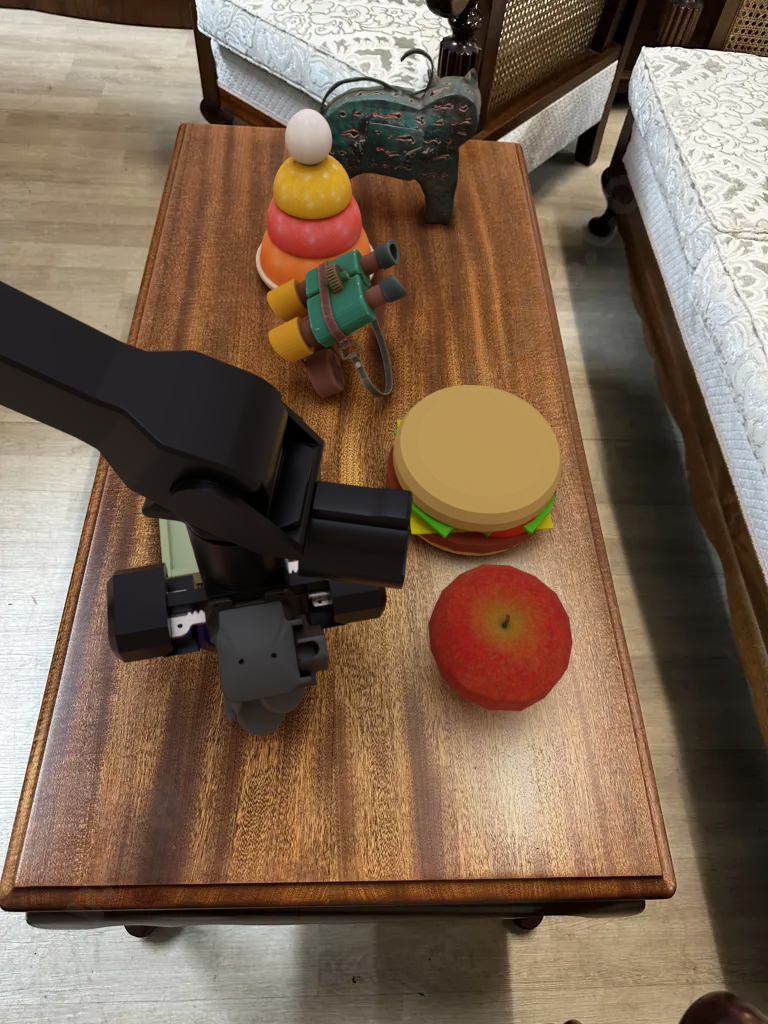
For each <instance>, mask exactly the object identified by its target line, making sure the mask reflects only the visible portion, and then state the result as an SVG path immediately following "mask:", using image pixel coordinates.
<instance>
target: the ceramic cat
mask: <svg viewBox="0 0 768 1024" xmlns="http://www.w3.org/2000/svg"><path fill="white" fill-rule="evenodd" d="M412 55H421V56H424V57H425V58H426V59H427V60H428V61H429V63H430V66H431V67H430V68H427V78H428V80H427V84H426V87H424V88H422V89H420V90H419V89H418V90H415V91H414V90H411V89H408V88H406V87H403V86H400V85H397V84H396V85H395V84H389V83H387V82H385V81H383V80H381V79H378V78H376V77H373V76H354V77H348V78H344V79H340V80H338V81H336V82H334V83H333V84H332V85H331V86H330V87H329V88H328V89H327V91H326V92H325V94H324V96H323V98H322V100H321V103H320V106H319V112H318V113H320V114H321V115H322V116H323V117H324V118H325V120H326V121H327V123H328V125H329V127H330V130H331V134H332V146H331V150H330V152H329V154H328V155H330V156H332V157H333V158H334V159H336V160H337V161H338V162H339V163H340V164H341V165H342V167H343V168H344V169H345V171H346V173H347V175H348V177H349V180H350V181H351V179H353V178H355V177H357V176H359V175H363V174H372V175H373V174H374V175H378V176H384V177H389V178H392V179H397V180H402V181H406V182H412V181H416V182H417V183H418V185H419V186H420V188H421V191H422V194H423V196H424V204H425V207H424V208H425V209H424V217H425V221H424V223H425V224H444V225H449V224H450V223H451V217H452V213H453V210H454V206H455V205H454V203H455V196H456V190H457V187H458V181H459V166H460V147H462V146H463V145H464V144H466V143H467V142H469V140H471V139H472V138H473V136H474V135H475V134H476V132H477V130H478V127H479V124H480V115H481V108H482V94H481V91H480V88H479V81H478V72H477V71H476V70H475V68H474V67H473V68H471V69H469V71H468V72H467V74H465V76H458V75H451V76H449V75H448V76H443V77H440V76H438V74H436V72H435V71H434V69H435V68H434V67H435V65H434V62H433V58H432V56H431V55H430V54H429V53H428V52H426V50H424V49H422V48H420V47H419V48H418V47H417V48H416V47H415V48H414V47H413V48H410V49H407V50H406V51H405V52H404V53H403V54H402V55H401V57H400V59H399V61H400V62H401V63H403V61H404V60H406V59H407V58H408V57H410V56H412ZM357 82H373V83H376V84H379V85H375V86H365V87H364V86H361V87H359V86H358V87H351V88H349V89H347V90H346V91H344V92H342V93H340V94H338V95H335V96H334V97H333V98H332V99H331V100H330V101H329V102H328V103H327V104H326V105H325V103H326V101H327V99H328V97H329V96H330V95H331V94H332V93H333V92H334V91H335V90H336V89H337V88H339V87H341V86H343V85H345V84H349V83H357Z"/></svg>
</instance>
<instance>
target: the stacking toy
mask: <svg viewBox="0 0 768 1024" xmlns="http://www.w3.org/2000/svg"><path fill="white" fill-rule="evenodd" d="M284 137H285V138H284V142H285V147H286V149H287V151H288V153H289V155H290V156H289V157H288V158H286V160H284V161H283V162H282V164H281V165H280V167H279V168H278V170H277V171H276V174H275V177H274V181H273V186H272V198H271V200H270V203H269V206H268V209H267V213H266V229H265V231H264V234H263V237H262V240H261V243H260V245H259V246H258V248H257V251H256V254H255V265H256V270H257V273H258V275H259V277H260V279H261V280H262V282H263V283H264V284H265V285H266V286H267V288H269V290H270V291H271V290H273V289H275V288H277V287H279V286H281V285H283V284H285V283H287V282H289V281H291V280H293V279H296V280H298V281H299V282H302V281H304V280H306V272H308V271H310V270H312V269H314V268H316V267H318V265H320V264H322V263H324V262H326V261H331V260H333V259H335V258H337V257H339V256H341V255H344V254H346V253H348V252H350V251H352V250H354V249H357V250H359V251H360V253H361V254H362V256H364V255H366V254H368V253H370V252H372V251H374V249H373V246H372V244H370V241H369V238H368V235H367V233H366V231H365V229H364V227H363V219H362V213H361V210H360V207H359V204H358V202H357V200H356V198H355V196H354V195H353V189H352V184H351V179H350V180H349V177H348V175H347V173H346V171H345V169H344V168H343V167H342V165H341V164H340V163H339V162H338V161H337V160H336V159H334V158H333V157H332V156H330V155H328V154H329V152H330V150H331V146H332V134H331V130H330V127H329V125H328V123H327V121H326V120H325V118H324V117H323V116H322V115H321V114H320V113H319V112H318V111H317V110H315V109H312V108H304V109H300V110H298V111H297V112H296V113H294V115H292V116H291V118H290V120H289V121H288V123H287V125H286V129H285V133H284ZM374 275H375V273H373V274H371V275H370V281H371V282H372V279H373V277H374Z"/></svg>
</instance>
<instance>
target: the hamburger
mask: <svg viewBox="0 0 768 1024" xmlns="http://www.w3.org/2000/svg"><path fill="white" fill-rule="evenodd" d="M396 423H397V424H396V425H397V428H396V429H395V431H394V433H393V435H394V442H393V444H392V446H391V448H390V451H389V452H388V458H387V469H386V479H385V484H386V488H394V489H401V490H409V491H411V492H412V493H413V496H412V497H413V502H412V511H411V521H410V533H411V535H416V536H418V538H420V539H422V540H424V541H425V542H426V543H428V544H430V545H431V546H434V547H436V548H438V549H440V550H443V551H445V552H449V553H452V554H456V555H462V556H477V557H478V556H480V557H482V556H490V555H495V554H499V553H503V552H506V551H507V550H510V549H513V548H515V547H517V546H518V545H520V544H521V543H523V542H525V541H527V540H528V539H531V538H532V537H533V536H534V534H535V533H536V532H537V531H538V530H552V529H553V530H554V528H555V527H554V524H553V518H552V516H551V509H552V507H553V504H554V501H555V498H556V494H557V489H558V486H559V483H560V481H561V478H562V477H561V476H562V472H563V458H562V457H563V456H562V451H561V448H560V445H559V442H558V439H557V436H556V434H555V432H554V430H553V428H552V427H551V424H550V423H549V422H548V421H547V420H546V418H545V417H544V416H543V414H541V413H540V412H539V410H537V408H535V407H534V406H533V405H531V404H530V403H528V401H526V400H524V399H522V398H521V397H519V396H517V395H516V394H513V393H510V392H508V391H506V390H503V389H500V388H496V387H493V386H486V385H481V384H462V385H454V386H449V387H448V386H447V387H445V388H442V389H438V390H436V391H434V392H432V393H429V394H428V395H426V396H424V397H423V398H422V399H420V400H419V401H418V402H417V403H416V404H414V405H413V406H412V407H411V408H410V409H409V410H408V411H407V412H406V413H405V414H404V416H403V417H402V419H401V418H400V419H396Z"/></svg>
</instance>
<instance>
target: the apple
mask: <svg viewBox="0 0 768 1024" xmlns="http://www.w3.org/2000/svg"><path fill="white" fill-rule="evenodd" d="M427 626H428V639H429V650H430V653H431V655H432V657H433V661H434V662H435V665H436V667H437V669H438V672H439V675H440V676H441V678H442V679H443V680H444V682H445V683H446V684H447V685H448V686H449V687H450V688H452V690H454V691H455V693H457V694H458V696H459V697H461V698H462V699H464V700H466V701H467V702H470V703H472V704H474V705H476V706H478V707H480V708H483V709H484V710H487V711H491V712H493V711H494V712H495V711H496V712H522V711H524V710H526V709H527V708H529V707H531V706H533V705H535V704H537V703H538V702H540V701H542V700H544V699H546V697H547V696H548V694H550V693H551V691H552V690H553V689H554V688H555V686H556V685H557V684H558V683H559V681H560V680H561V679H562V678H563V676H564V675H565V673H566V672H567V670H568V668H569V665H570V659H571V655H572V650H573V649H572V648H573V644H574V642H573V636H572V630H571V629H572V628H571V621H570V616H569V614H568V613H567V611H566V609H565V606H564V605H563V602H562V601H561V599H560V597H559V595H558V594H557V592H555V591H554V590H553V589H552V588H551V587H549V586H548V585H547V584H545V583H544V582H543V581H542V580H541V579H539V578H538V577H537V576H536V575H534V574H531V573H529V572H527V571H524V570H522V569H519V568H517V567H515V566H512V565H509V564H495V563H494V564H493V563H492V564H491V563H480V564H479V565H477V566H475V567H471V569H468V570H466V571H464V572H461V573H459V574H458V575H457V576H456V577H454V579H453V580H452V581H450V582H449V583H448V584H447V586H445V587H444V588H443V589H442V590H441V592H440V594H439V596H438V599H437V600H436V603H435V605H434V607H433V609H432V612H431V615H430V618H429V620H428V625H427Z"/></svg>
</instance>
